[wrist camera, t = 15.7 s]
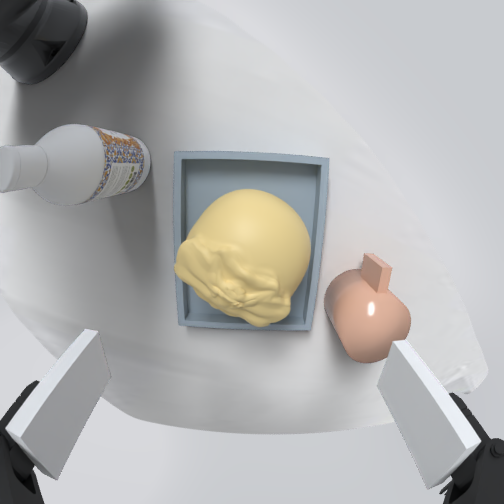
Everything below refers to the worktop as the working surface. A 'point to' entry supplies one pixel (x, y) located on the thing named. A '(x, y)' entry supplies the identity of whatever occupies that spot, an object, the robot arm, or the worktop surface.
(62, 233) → the worktop surface
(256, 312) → the sculpture
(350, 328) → the peach tabbed round part
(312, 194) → the tray
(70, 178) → the bath foam
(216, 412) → the worktop surface
